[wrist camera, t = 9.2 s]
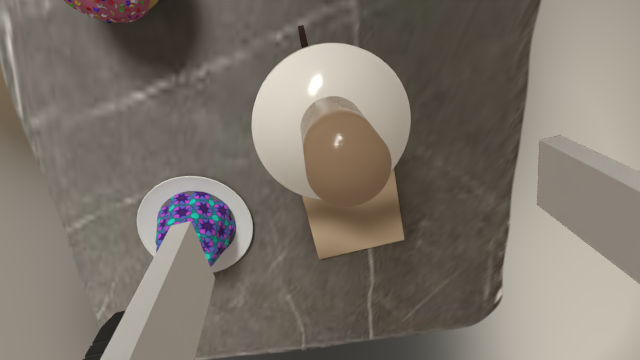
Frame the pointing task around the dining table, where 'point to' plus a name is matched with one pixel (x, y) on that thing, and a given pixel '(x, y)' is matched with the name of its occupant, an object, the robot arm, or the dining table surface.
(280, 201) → the dining table surface
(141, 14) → the cupcake
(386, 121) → the lid
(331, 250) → the cork mat
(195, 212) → the pudding
